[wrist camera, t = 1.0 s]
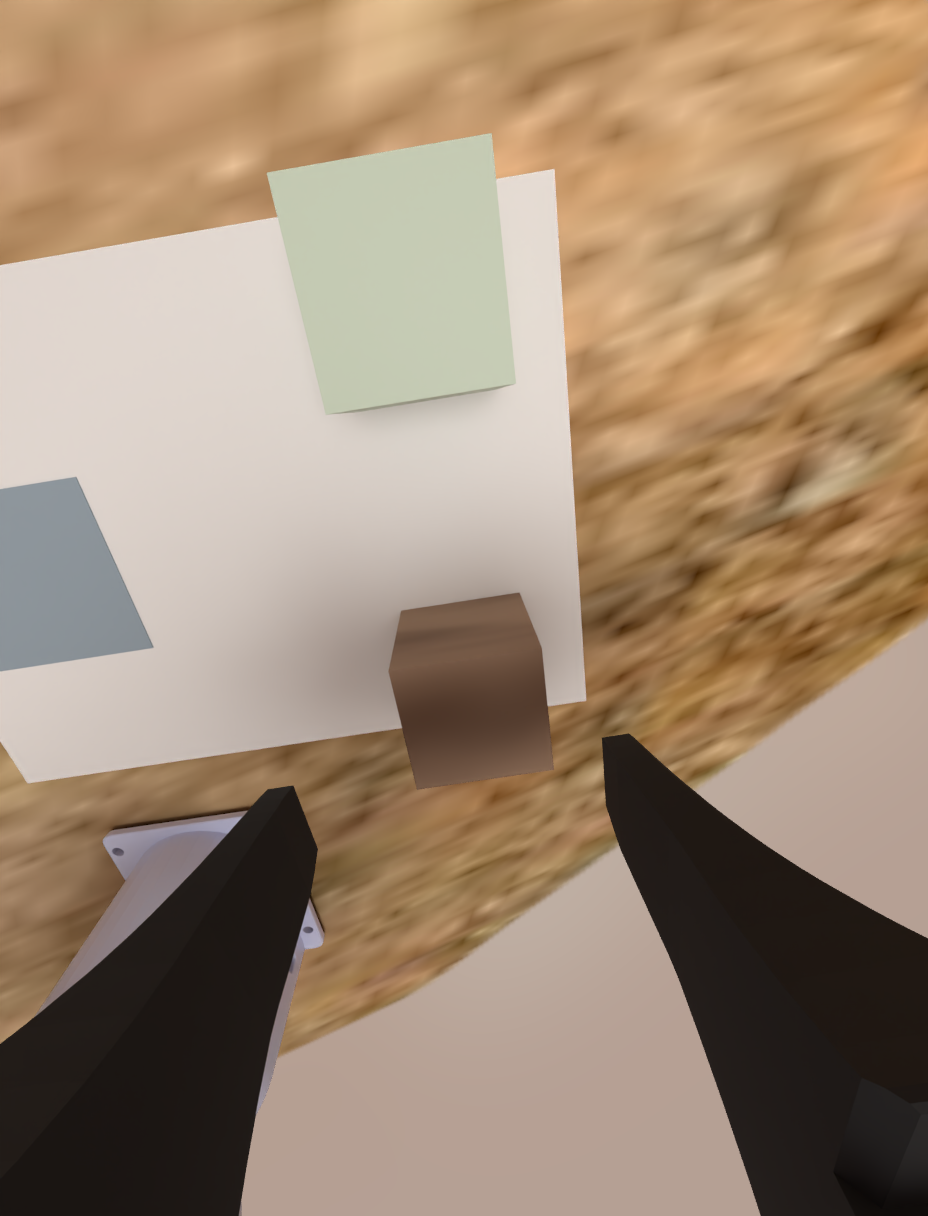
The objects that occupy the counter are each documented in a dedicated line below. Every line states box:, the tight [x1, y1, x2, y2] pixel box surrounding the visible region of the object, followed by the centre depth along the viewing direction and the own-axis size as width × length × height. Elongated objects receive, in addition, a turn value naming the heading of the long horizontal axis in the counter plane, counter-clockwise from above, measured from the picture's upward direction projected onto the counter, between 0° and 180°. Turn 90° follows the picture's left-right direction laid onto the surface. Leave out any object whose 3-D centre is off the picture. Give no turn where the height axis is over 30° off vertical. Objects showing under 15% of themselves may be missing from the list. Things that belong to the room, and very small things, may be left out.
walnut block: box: [388, 592, 554, 790], centre depth 17 cm, size 4×4×4 cm
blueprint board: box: [0, 169, 586, 783], centre depth 17 cm, size 18×24×1 cm
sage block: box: [267, 133, 516, 415], centre depth 12 cm, size 4×4×4 cm
